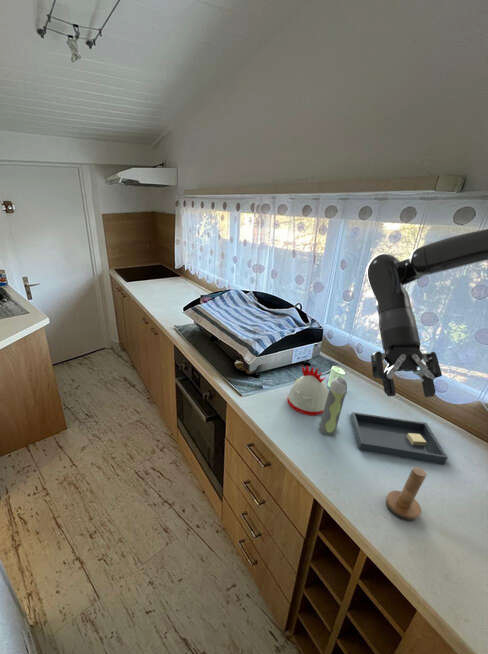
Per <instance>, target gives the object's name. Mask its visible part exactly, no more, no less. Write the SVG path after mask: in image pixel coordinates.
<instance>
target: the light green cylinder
mask: <svg viewBox="0 0 488 654" xmlns="http://www.w3.org/2000/svg"><path fill="white" fill-rule="evenodd" d="M345 375H346V371H345V370H344V369H342V368H341V367H339V366H336V365H332V366H331V369H330V373H329V377H328V382H327V387H328V388H330V387H331V383H332V380H333V379H335V378H339V377H340V378H343V379H344V380H345Z"/></svg>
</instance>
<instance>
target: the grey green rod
mask: <svg viewBox="0 0 488 654" xmlns="http://www.w3.org/2000/svg"><path fill="white" fill-rule="evenodd" d="M347 390H348V384H347V381H346V380H345V378H344V379H343V378H340V377H339V378H335V379H333V380H332V383H331V387H329V390H328V396H327V400H326V404H325V407H324V411H323V413H322V415H321V419H320V422H319V425H318V432H319V433H321V434H322V435H323V436H326V437H333V436H335V434H336V432H337V428H338V425H339V420H340V416H341V412H342V408H343V405H344V403H345V397H346V394H347Z"/></svg>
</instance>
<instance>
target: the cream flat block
mask: <svg viewBox="0 0 488 654" xmlns="http://www.w3.org/2000/svg"><path fill="white" fill-rule="evenodd" d="M407 438H408V440H409V441H410V442H411V444H412V445H421V446H425V444H426V441H425V440H424V438H423V437H422V436H421V435H420V434H413V433H408V434H407Z"/></svg>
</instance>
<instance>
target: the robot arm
mask: <svg viewBox="0 0 488 654" xmlns="http://www.w3.org/2000/svg"><path fill="white" fill-rule="evenodd" d="M485 261H488V228H486V229H480V230H476V231H472V232H468V233H461V234H458V235H454V236H450V237H447V238H444V239H439V240H437V241H435V242H434V241H433V242H431V243H427V244H425V245H421V246H419V247H416V248H415V249H413V250H412V252H411V255H410V256H409V257H408V258H404V259H401V260H399V258H397V257H396V256H394V255H393V254H389V253H380V254H377V255H375V256H374V257H373V258H372V259H371V260H369V263H368V264H367V269H366V276H367V280H368V284H369V286H370V288H371V291H372V294H373V296H374V298H375V302H376V309H377V315H378V328H379V333H380V334H379V335H380V339H381V345H382V350H383V351H384V352H381V351H380V350H377V351H375V352H374V353H372V354H371V355H370V360H371V361H370V362H371V371H372V377H373V378H374V379H380V380H381V381H382V385H383V392H384V394H385V395H386V396H387V397H393V396H394V397H395V396H396V387H395V381H394V379H393V376H394V375H395V374H396V372H412V373H413V374H414V375H416V376H418V377H419V378H420V379H421V380H422V381H421V385H422V390H423V396H424V397H425V398H432V397H435V394H436V392H437V391H436V386H435V381H434V380H435V379H437V378H440V377H442V376H443V373H442V369H441V366H440V363H439V359H438V356H437V353H436V352H435V351H431V352H428V353H423V352H422V350H421V339H420V334H419V330H418V325H417V321H416V318H415V315H414V312H413V308H412V303H411V298H410V294H409V293H408V291H407V290H406V288H405V287H404V286H405V285H407V284H411V283H412V282H414V281H417V280H419V279H422V278H423V277H425V276H428V275H429V276H430V275H433V274H438V273H442V272H446V271H450V270H453V269H458V268H461V267H466V266H468V265H469V266H470V265H473V264H478V263H480V262H481V263H482V262H485ZM383 361H385V362H386V363H387V365H386V367H385V369H384V364H383Z"/></svg>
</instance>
